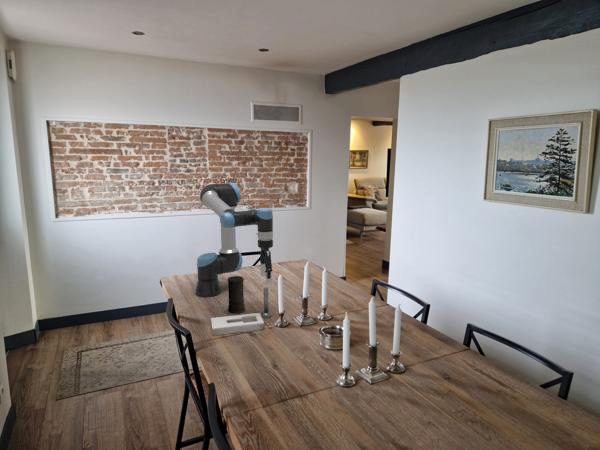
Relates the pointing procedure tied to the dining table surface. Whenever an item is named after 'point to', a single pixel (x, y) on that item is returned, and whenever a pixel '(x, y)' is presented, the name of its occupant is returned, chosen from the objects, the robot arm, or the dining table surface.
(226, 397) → the dining table surface
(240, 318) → the keyhole board
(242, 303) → the container
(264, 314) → the peg
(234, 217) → the robot arm
